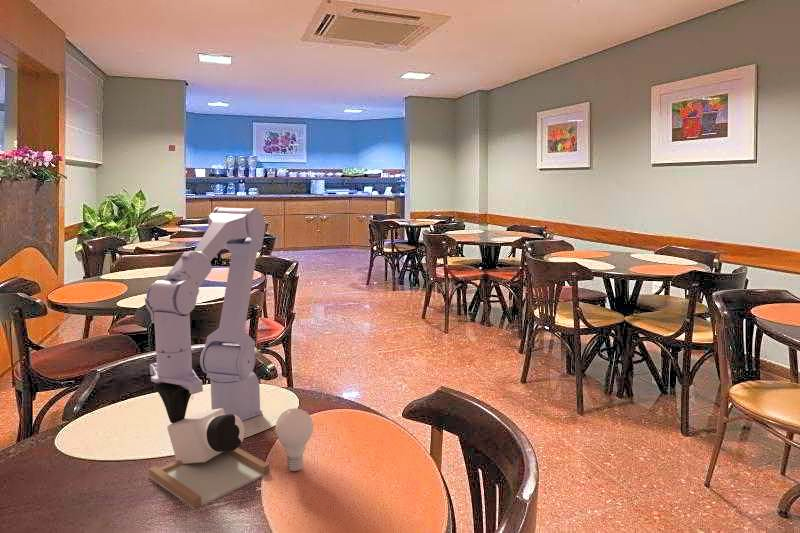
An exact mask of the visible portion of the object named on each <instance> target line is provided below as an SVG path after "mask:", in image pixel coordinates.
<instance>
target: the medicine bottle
mask: <svg viewBox="0 0 800 533" xmlns="http://www.w3.org/2000/svg"><path fill="white" fill-rule="evenodd" d="M166 427H167V432H168V436H169V438H170V444H171V447H172V450H173V453H174V456H175V461H177V460H179V461H182V463H183V464H192V463H203V462H206V461H208V460H209V459H211V458H213V457H215V456H216V455H218V454H220V453H221V452H225V451H233V450H235V449H237V448H240V446H241V444H242V443H243V440H244V439H245V426H244V423H243V421H241V419H240V418H239V417H238V416H236V415H233V414H228V415H225V412H224V409H223V408H220V409H213V410H212V409H208V410H201V411H197V412H195V413H191V415H188V416H185V418H184V419H182V420H180V421H178V422H175V423H171V424H169V425H167V426H166Z"/></svg>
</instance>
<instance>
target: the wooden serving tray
mask: <svg viewBox="0 0 800 533" xmlns="http://www.w3.org/2000/svg"><path fill="white" fill-rule="evenodd" d="M270 471H271V470H270V464H269V463H268V462H265V461H264V460H262V459H260V458H258V457H256V456H254V455H253V454H251V453H249V452H247V451H245V450H243V449H242V448H240V447H238V448H237V449H235V450H233V451H225V452H221V453H220V454H218V455H216V456H215V457H213V458H211V459H209V460H208V461H206V462H203V463H192V464H183V463H182V461H179V460H177V461H176V460H175V461H172V462H170V463H167V464H166V465H162V466H161V467H159V466H157V465H155V466H152V467H150V468H148V478H149V479H151V480H152V481H154V482H155V483H156V484H158V485H159V486H161V487H162V488H164V490H166V491H167V492H169V493H171V495H173V496H175V498H177V499H178V500H180V501H181V502H183V503H184V504H186V505H187V506H188V507H190V508H191V509H193V510H197V509H199V508H200V507H202V506H205V505H207V504H209V503H211V502H214V501H215V500H218V499H219V498H221V497H223V496H225V495H228V494H230V493H232V492H234V491H237V490H239V489H240V488H242V487H244V486H247V485H248V484H250V483H253V482H254V481H257V480H259V479H260V478H263V477H265V476H267V475H268V474H270V473H271V472H270Z"/></svg>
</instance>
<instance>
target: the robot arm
mask: <svg viewBox="0 0 800 533" xmlns="http://www.w3.org/2000/svg"><path fill="white" fill-rule="evenodd" d="M207 224H208V228H207V230H206V231H205V232H204V235H203V236H202V238H201V239H200V240H199V242H198V244H197V245H196V247H195V248H194V250H188V251H185V252H183V253H182V254H181V255H180V258H179V259H178V260H177V261H176V263H174V265H173V267H172V268H171V269H170V270H169V271H168V273H167V274H166V275H165V277H164V278H163V279H159V280H156V281H155V282H153V283H152V284H151V285H150V286H149V288H148V290H147V291H146V298H144V303H145V307H146V310H148V311H149V313H150V321H151V322H152V323H153V324H154V336H155V337H154V338H155V341H154V342H155V354H156V357H155V358H156V362H154V363H151V364H150V363H149V374H150V375H151V376H150V380H151V381H150V382H153V383H155V385H154V388H155V390H156V392H157V394H158V395H159V396H160V398H161V400H162V402H163V404H164V407H165V411H166V413H167V417H168V419H169V422H170V423H171V424H173V423H175V422H178V421H180V420H182V419H184V418H186V413H187V409H188V404H189V401H190V398H191V397H192V395H195V394H198V393H202V392H203V390H204V388H203V387H204V386H203V380H201V379H200V378H199V377H198V375H197V373H196V372H195V370H194V369H193V362H192V361H193V359H192V358H193V357H192V340H191V339H192V338H191V335H192V334H191V333H192V332H191V317H190V316H191V315H190V314H191V312H192V311H193V310H194V309H195V307H196V305H197V299H198V296H199V293H200V287H201V286H202V284H203V283H204V282H205V280H206V278H207V277H208V276H209V274H210V273H211V271H212V269H213V268H212V263H211V261H212V260H213V259H214V258H215V257H216V256H217V255H218V253H219V252H220V251H221V250H222V248H223V249H225V250H227V251H229V253H230V263H229V267H228V273H227V274H228V275H227V279H226V285H225V289H224V290H225V291H224V292H225V293H224V295H223V296H224V297H223V304H222V308H221V316H220V320H219V327H218V329H216V330H214V331H213V332H211V333H210V334H208V335H207V337H206V339H205V344H204V347H203V349H202V351H201V353H200V358H199V364H200V368H201V370H202V372H203V373H205V374H206V378H207V379H210V381H209V382H210V400H211V401H210V402H211V404H210V405H211V410H213V409H220V408H223V409H224V412H225V415H228V414H233V415H236V416H238V417H239V418H240V419H241V421H242V422H243V421H246V420H248V419H252V418H254V417H257V416H259V415H262V414H263V410H261V396H260V394H261V392H260V388H261V387H260V381H259V379H258V376H257V374H256V373H255V372H254V371H253V370H254V368H255V365H256V352H255V351H256V350H255V349H256V341H255V340H254V339H253V337H251V336H250V335H249V333H247V332H246V330H245V329H246V325H247V324H246V323H247V317H248V310H249V304H250V298H251V293H252V287H253V286H252V285H253V281H254V274H255V273H254V272H255V268H256V262H257V261H256V260H257V255H258V252H259V251H261V250H262V248H263V243H264V237H265V231H266V225H267V224H266V220H265V218H264V215H263V212H262V211H261V210H260V208H258V207H252V208H250V207H249V208H247V207H243V208H242V207H223V206H217V207H214V208H213V210H212V211H211V213H210V214H208V223H207ZM230 344H231V345H230ZM232 344H234V345H232Z"/></svg>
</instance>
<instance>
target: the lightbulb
mask: <svg viewBox="0 0 800 533" xmlns="http://www.w3.org/2000/svg"><path fill="white" fill-rule="evenodd" d="M313 422H314V421H313V420H312V417H311V415H310V414H309V413H308V412H307V411H305V410H303V409H300V408H296V407H295V408H288V409H287V410H285V411H283V412H282V413H280V415H279V416H278V418H277V420H276V423H275V425H274V428H275V431H274V432H275V436H276V437H277V439H278V441H279V443H280V444H281V445H282V446H283V448H284V449H283V450H284V453H285V454H286V463H287V464H286V465H287V466H286V468H287V470H288V471H290V472H291V471H292V472H298V471H300V470H302V469H303V467H304V463H303V462H304V461H303V458H304V456H303V455H304V453H305V449H306V448H305V447H306V445H307V443H308V442H309V440H310V438H311V437H312V435H313V432H314V423H313Z"/></svg>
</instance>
